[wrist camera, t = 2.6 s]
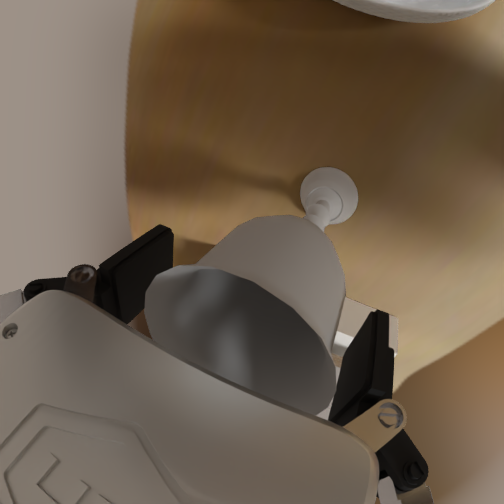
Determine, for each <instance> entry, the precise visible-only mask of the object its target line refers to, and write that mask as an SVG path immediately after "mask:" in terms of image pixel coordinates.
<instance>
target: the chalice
mask: <svg viewBox="0 0 504 504" xmlns="http://www.w3.org/2000/svg"><path fill="white" fill-rule="evenodd" d="M300 197H301V203H302V205H303V207H304V209H305V211H306V216H304V217H303V218H300V217H296V216H293V215H277V216H266V217H256V218H253V219H251V220H249V221H247V222H245V223H243V224H240V225H238V226H237V227H236V228H235V229H234V230H233V231H231V232H230V233H229V234H228V235H227V236H226V237H225V238H224V239H222V240H221V241H220V242H219V243H218V244H217V245H216V246H215V247H213V248H212V249H211V250H210V251H209V252H208V253H207V254H206V255H205V256H203V257H202V258H201V259H200V260H199V261H198V262H197V263H196V264H189V265H178V266H176V267H173V268H171V269H169V270H167V271H164V272H162V273H160V274H158V275H156V276H155V278H154V280H153V281H152V283H151V284H150V286H149V288H148V289H147V291H146V294H145V310H144V313H145V317H146V321H147V324H148V327H149V331H150V334H151V336H152V338H153V340H154V341H155V342H157V343H159V344H160V345H162V346H164V347H166V348H168V349H169V350H171V351H173V352H175V353H177V354H179V355H180V356H182V357H184V358H186V359H188V360H190V361H192V362H194V363H196V364H198V365H200V366H202V367H203V368H205V369H208V370H210V371H212V372H214V373H216V374H218V375H220V376H222V377H224V378H226V379H228V380H230V381H233V382H235V383H237V384H239V385H241V386H244V387H246V388H248V389H250V390H253V391H255V392H257V393H260V394H262V395H265V396H267V397H269V398H272V399H274V400H277V401H279V402H282V403H284V404H287V405H289V406H292V407H294V408H297V409H300V410H302V411H305V412H307V413H310V414H313V415H315V416H316V415H317V414H319V413H320V412H322V411H323V410H325V409H326V408H328V406H329V404H330V402H331V400H332V398H333V396H334V394H335V392H336V367H335V364H334V361H333V358H332V355H331V351H332V347H333V344H334V340H335V336H336V333H337V329H338V325H339V321H340V317H341V313H342V309H343V305H344V300H345V296H346V288H345V275H344V272H343V269H342V266H341V263H340V261H339V258H338V255H337V253H336V251H335V248H334V246H333V244H332V241H331V240H330V239H329V238H328V237H327V236H326V234H325V233H324V227H326V226H327V225H328V224H338V223H341V222H344V221H346V220H347V219H348V218H349V217H351V216H352V215H353V213H354V211H355V210H356V208H357V203H358V191H357V188H356V186H355V184H354V182H353V180H352V179H351V178H350V177H349V176H348V175H347V174H346V173H344V172H343V171H341V170H339V169H336V168H332V167H321V168H318V169H316V170H313V171H311V172H310V173H309V174H308V175H307V176H306V177H305V179H304V181H303V183H302V184H301V190H300Z"/></svg>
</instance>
